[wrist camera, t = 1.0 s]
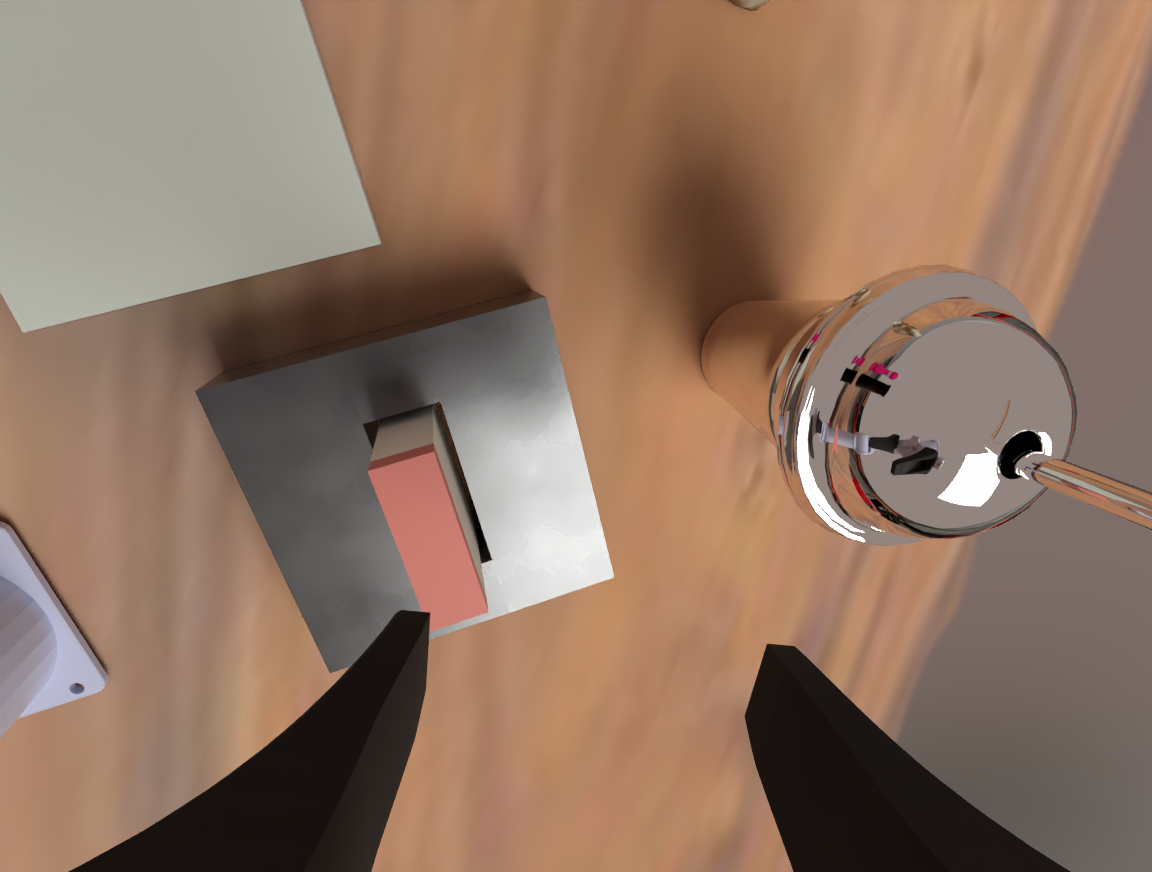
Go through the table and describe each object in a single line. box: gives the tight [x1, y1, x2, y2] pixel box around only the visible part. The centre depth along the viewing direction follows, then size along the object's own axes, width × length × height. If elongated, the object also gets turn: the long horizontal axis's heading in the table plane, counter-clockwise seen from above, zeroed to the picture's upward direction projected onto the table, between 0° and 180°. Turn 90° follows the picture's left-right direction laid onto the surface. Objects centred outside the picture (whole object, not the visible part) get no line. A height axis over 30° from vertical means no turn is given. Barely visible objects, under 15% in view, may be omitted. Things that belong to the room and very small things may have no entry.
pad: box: [0, 0, 382, 333], centre depth 19 cm, size 12×12×1 cm
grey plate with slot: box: [195, 290, 614, 673], centre depth 24 cm, size 12×12×3 cm
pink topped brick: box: [368, 403, 489, 632], centre depth 23 cm, size 2×6×7 cm, turn 14°
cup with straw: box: [701, 265, 1152, 546], centre depth 18 cm, size 8×9×20 cm
